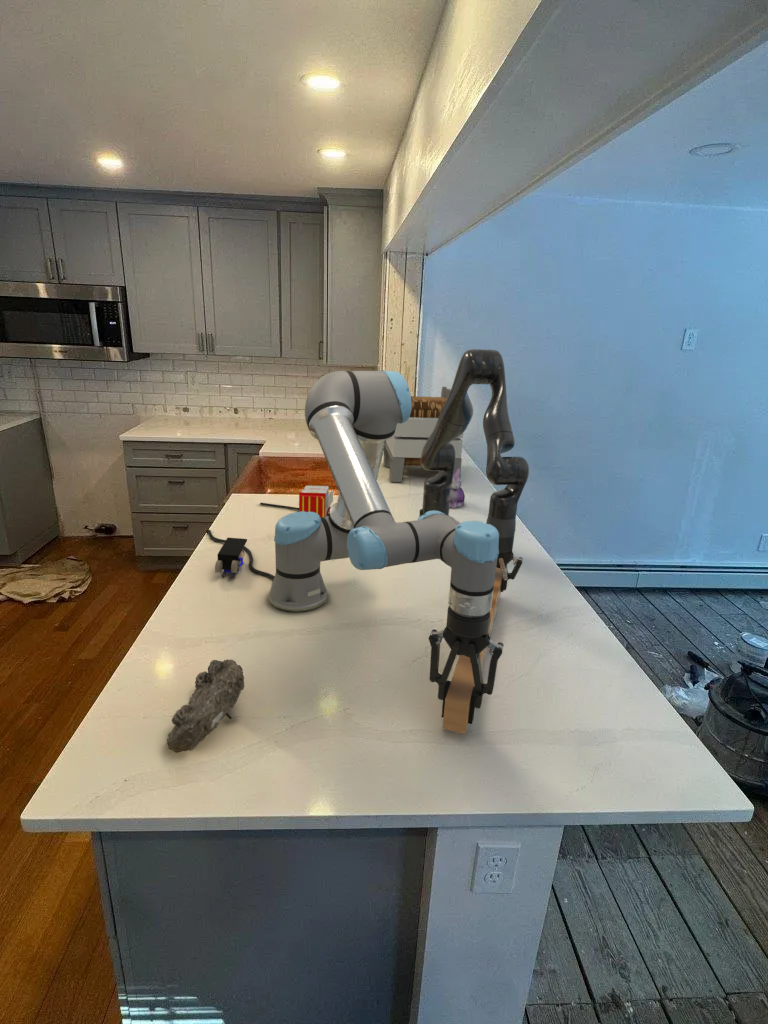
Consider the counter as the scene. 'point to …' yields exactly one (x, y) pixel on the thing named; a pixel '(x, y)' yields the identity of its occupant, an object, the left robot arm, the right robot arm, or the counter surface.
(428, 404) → the grey crate stand
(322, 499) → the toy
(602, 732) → the counter surface
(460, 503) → the figurine
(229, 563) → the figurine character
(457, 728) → the bar
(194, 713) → the fossil
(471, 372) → the right robot arm
